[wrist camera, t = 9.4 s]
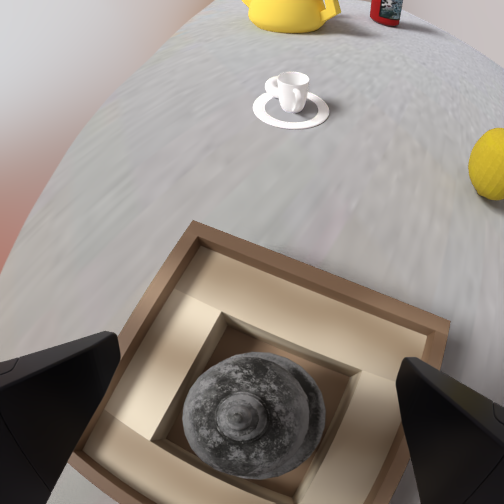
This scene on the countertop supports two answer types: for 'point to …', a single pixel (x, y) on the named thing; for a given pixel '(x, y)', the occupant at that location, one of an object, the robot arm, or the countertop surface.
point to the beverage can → (386, 11)
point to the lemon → (488, 165)
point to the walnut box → (256, 340)
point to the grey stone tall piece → (254, 416)
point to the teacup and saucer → (290, 100)
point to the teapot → (291, 14)
